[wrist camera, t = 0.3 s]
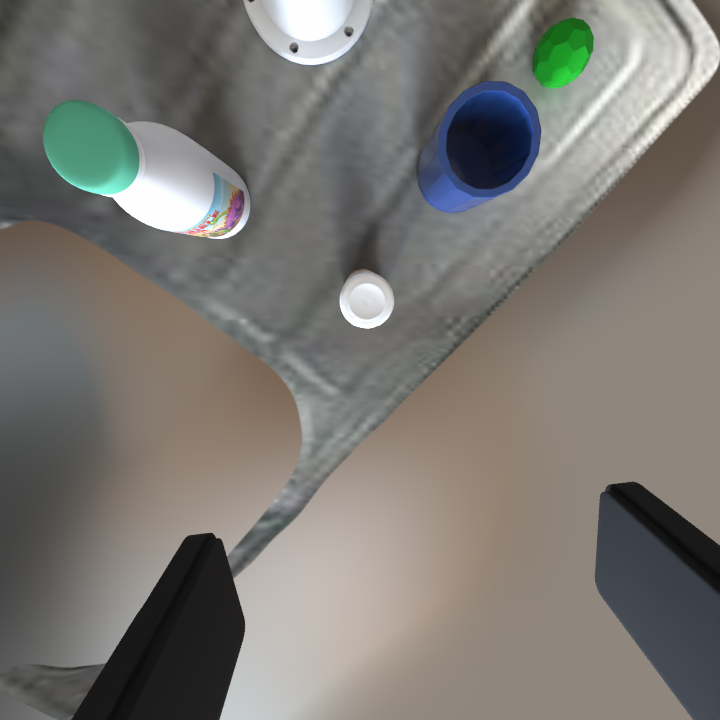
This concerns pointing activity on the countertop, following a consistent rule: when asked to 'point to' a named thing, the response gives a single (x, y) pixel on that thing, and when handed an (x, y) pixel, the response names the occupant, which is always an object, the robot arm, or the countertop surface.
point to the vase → (479, 147)
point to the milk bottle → (146, 170)
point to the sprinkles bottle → (366, 299)
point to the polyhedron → (563, 53)
